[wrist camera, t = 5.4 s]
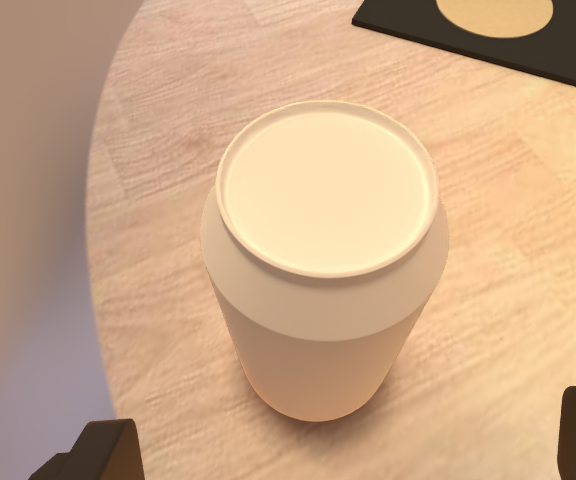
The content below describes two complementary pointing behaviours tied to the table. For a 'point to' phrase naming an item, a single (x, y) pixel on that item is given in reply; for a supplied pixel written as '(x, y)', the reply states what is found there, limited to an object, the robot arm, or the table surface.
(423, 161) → the beverage can
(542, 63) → the mat
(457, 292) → the table surface
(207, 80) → the table surface
